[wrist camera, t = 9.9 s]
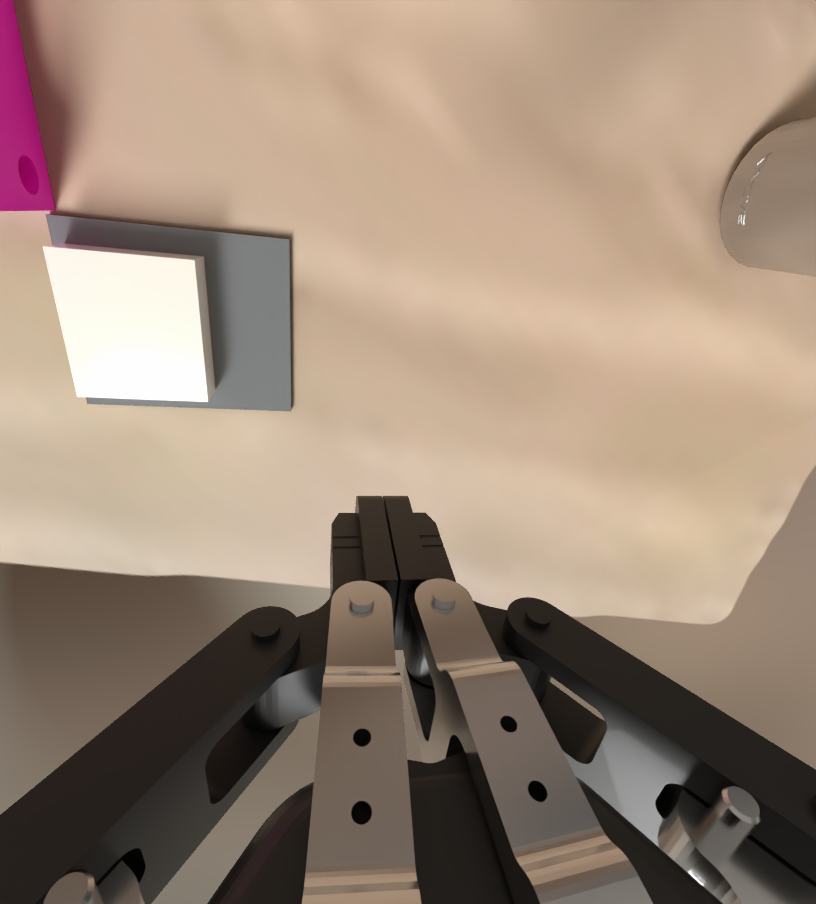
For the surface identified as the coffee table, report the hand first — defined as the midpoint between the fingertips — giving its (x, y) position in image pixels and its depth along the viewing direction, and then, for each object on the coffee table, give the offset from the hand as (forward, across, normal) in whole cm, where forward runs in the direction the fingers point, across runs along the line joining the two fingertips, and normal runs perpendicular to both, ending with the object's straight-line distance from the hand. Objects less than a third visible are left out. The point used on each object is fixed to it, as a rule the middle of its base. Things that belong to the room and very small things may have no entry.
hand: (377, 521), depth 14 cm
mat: (+23, +11, 0) cm, 25 cm away
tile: (+21, +9, 0) cm, 23 cm away
